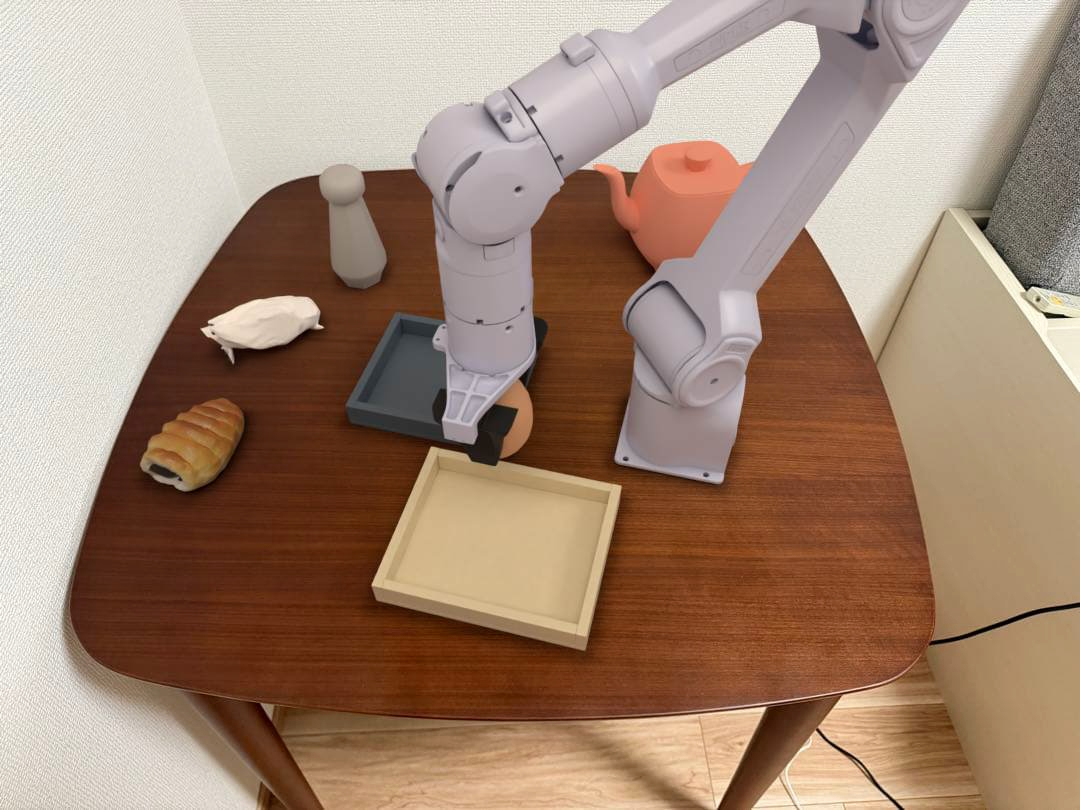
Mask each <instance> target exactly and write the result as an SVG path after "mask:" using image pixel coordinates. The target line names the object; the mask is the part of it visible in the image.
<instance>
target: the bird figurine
mask: <svg viewBox="0 0 1080 810" xmlns="http://www.w3.org/2000/svg"><path fill="white" fill-rule="evenodd" d="M320 316H321V310H320V308H319V307H318V305H317V304H316V303H315V301H314V300H313V299H311V298H310V297H308V296H294V295H284V296H283V295H282V296H273V297H267V298H258V299H254V300H250V301H248V302H246V303H243V304H240V305H238V306H236V307H234V308H233V309H230V310H229V311H227V312H224V313H222V314H219V315H218V316H215V317H213V318H211V319H208V320H207V324H208V326H205V327H200V330H201V332H202V333H203V334H204V335H205V336H206V337H207V338H210V339H213V340H214V341H216V342H217V343H218V344H219V345H221V347H220V349H221V350H223V351H224V353H225V355H228V357H229V360H230V362H231V363H232V364H233V365H234V364H235V355H234V349H254V350H266V349H269V348H274V347H277V346H285V345H288V344H289V343H290V342H291V341H293V340H294V339H296V338H297V337H298V336H299V335H301V334H303V332H305V331H307V330H315V331H319V330H323V329H325V327H324V326H323V325H320V324H319V320H320ZM213 333H214V334H213Z"/></svg>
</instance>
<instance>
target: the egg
mask: <svg viewBox="0 0 1080 810" xmlns="http://www.w3.org/2000/svg"><path fill="white" fill-rule="evenodd" d="M495 404H498V405H503V406H508V407H513V408H517V409H519V410H518V413H517V415H516V418H515V421H514V423H513V426H512V428H511V429H510V431H509V433H508V434H507V436H505V437H504V442H503V448H502V453H501V456H500V459H504V458H507V457H510V456H511V455H513V454H515V453H516V452H518V451H519V450H520V449H521V448H522V447H523V446H524V445H525V444H526V442H527V441H528V439H529V437H530V434H531V433H532V432H531V431H532V428H533V424H534V423H533V422H534V414H533V413H534V411H533V403H532V400H531V397H530V393H529V392H528V390H527V388H526V389H525V387H524V385H523V384H522V382H521V381H520V380H519V379H517V380H516V382H515V383H514V384H513V385H512V386H511V387H510V388H509V389H508V390H507V391H506V392H505V393H504V394H503V395H502V396H501V397H500V398H499V399H498V400H497V401H496V402H495Z"/></svg>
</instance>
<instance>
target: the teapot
mask: <svg viewBox="0 0 1080 810" xmlns="http://www.w3.org/2000/svg"><path fill="white" fill-rule="evenodd" d="M753 163H754V161H750V162H746V163H743V164H739V162H738V161H737V159H736V158H735V156H734V155H733V154H732V153H731V152H730V151H729V150H728V149H727V148H726V147H725V146H724V145H722V144H720V143H719V142H716V141H713V140H691V141H689V140H688V141H681V142H671V143H666V144H661V145H658V146H656V147H654V148H653V149H652V150H651V151H650V153H649V154H648V155H647V157H646V159H645V160H644V162H643V164H642V166H641V167H640V168H639V171H638V173H637V174H636V176H635V179H634V181H633V184H632V187H631V190H630V194H629V196H628V194H627V191H626V182H625V177H624V175H623V173H622V172H621V170H620V169H618V168H617V167H615V166H613V165H610V164H605V163H596V164H593V165H592V168H593V169H594V170H595V171H597V172H599V174H602V176H604V177H605V178H606V179H607V181H608V183H609V188H610V200H611V201H610V202H611V208H612V212H613V215H614V217H615V219H616V221H617V222H618V224H620V226H622V227H623V228H624V229H625V230H627V231H629V233H630V236H631V238H632V240H633V242H634V244H635V246H636V247H637V249H638V250H639V252H640V253H641V255H642V257H644V258H645V260H646V261H647V262H648V264H650V265H651V266H652V267H653V269H654V271H655V272H656V271H657V270H658V268H659V266H660V265H661V263H662V262H663V261H665V260H669V259H674V258H692V257H693V256H694V255H695V253H696V251H697V250H698V248H699V247H700V245H701V244H702V242H703V241H704V239H705V237H706V236H707V234H708V233H709V231H710V230H711V228H712V227H713V225H714V224H715V222H716V220H717V219H718V217H719V216H720V214H721V213H722V211H723V210H724V208H725V206H726V205H727V203H728V202H729V200H730V199H731V197H732V196H733V194H734V192H735V191H736V189H737V188H738V186H739V185H740V183H741V182H742V180H743V179H744V177H745V175H746V174H747V172H748V171H749V169H750V168H751V166H752V165H753Z"/></svg>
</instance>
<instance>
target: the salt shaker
mask: <svg viewBox="0 0 1080 810" xmlns="http://www.w3.org/2000/svg"><path fill="white" fill-rule="evenodd" d="M318 183H319V190H320V193H321V195H322V197H323V198H324V199H325V200H326V201H327V202H328V213H329V214H328V215H329V246H330V248H329V251H330V263H331V268H332V270H333V272H335V274H336V275H337V276H338V277H339V278H340V279H341V280H342V281H343V282H344V284H346V286H347V287H349V288H355V289H361V290H366V289H368V288H370V287H372V286H374V285H376V284H378V283H380V282H381V278H382V274H383V271H384V269H385V267H386V264H387V261H388V259H387V254H386V249H385V247H384V244H383V243H382V239H381V237H380V234H379V233H378V229H377V228H376V226H375V224H374V220H373V218H372V216H371V214H370V211H369V209H368V207H367V204H366V202H365V199H364V197H363V195H364V193H365V191H366V184H365V179H364V175H363V172H362V171H361V170H360V169H359V168H357V167H356V166H355V165H352V164H348V163H338V164H333V165H330V166H329V167H327V168H325V169H324V170H323V171H322V172H321V174H320V175H319V177H318Z"/></svg>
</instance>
